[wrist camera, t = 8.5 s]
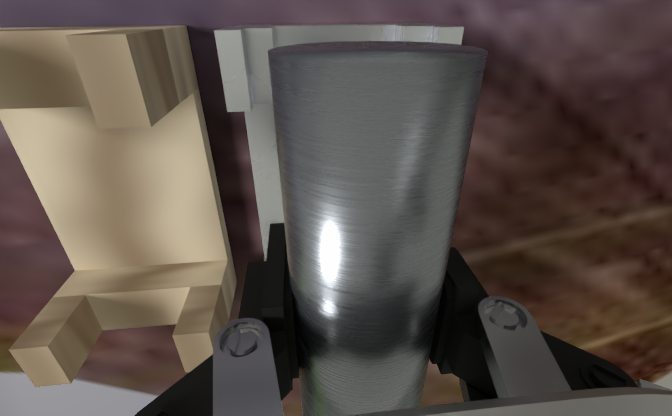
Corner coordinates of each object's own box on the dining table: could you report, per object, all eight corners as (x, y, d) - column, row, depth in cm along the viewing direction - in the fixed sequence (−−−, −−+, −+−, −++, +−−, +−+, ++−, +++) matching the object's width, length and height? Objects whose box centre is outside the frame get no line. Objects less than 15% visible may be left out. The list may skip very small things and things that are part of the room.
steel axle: (438, 39, 8) (539, 59, 5) (394, 389, 15) (424, 498, 12) (273, 42, 8) (257, 64, 5) (304, 398, 15) (308, 514, 12)
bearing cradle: (186, 25, 14) (125, 34, 9) (236, 281, 21) (218, 368, 16) (-23, 28, 14) (-216, 39, 8) (100, 292, 21) (35, 386, 15)
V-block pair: (420, 22, 15) (463, 27, 11) (395, 269, 22) (417, 325, 18) (235, 24, 15) (213, 30, 11) (269, 279, 22) (264, 338, 18)
